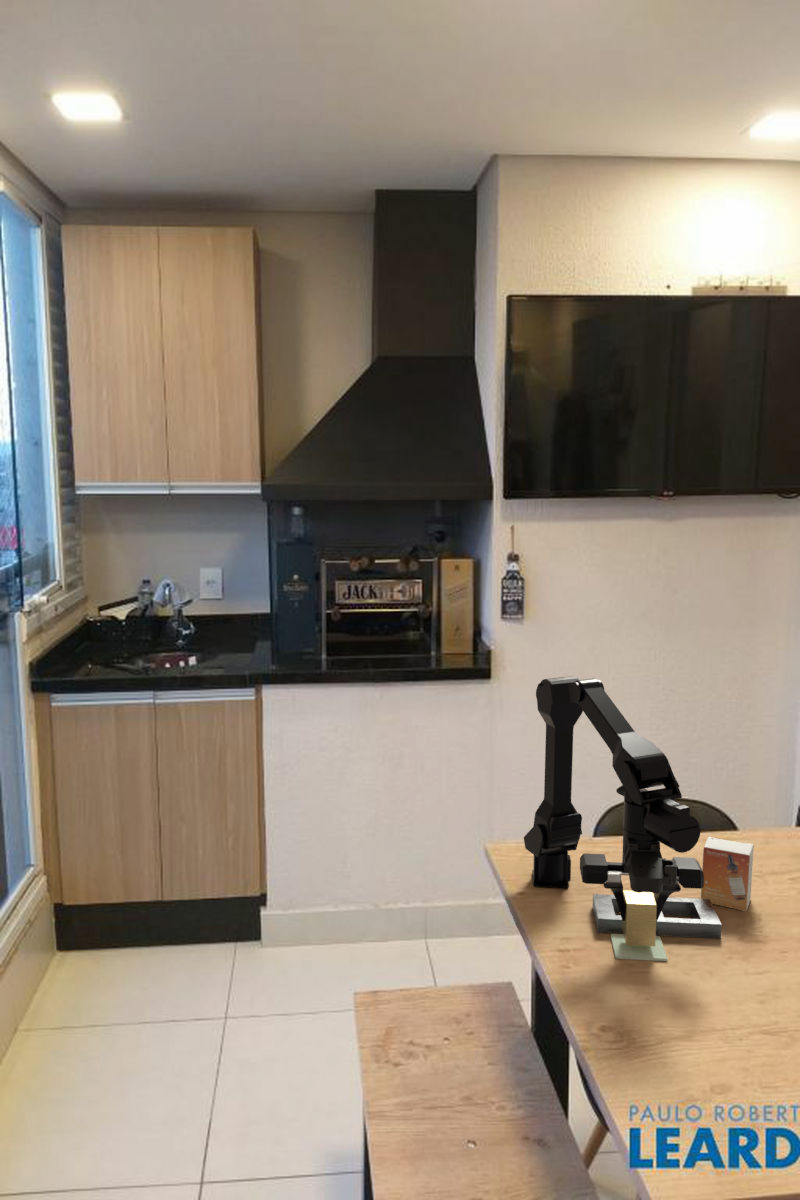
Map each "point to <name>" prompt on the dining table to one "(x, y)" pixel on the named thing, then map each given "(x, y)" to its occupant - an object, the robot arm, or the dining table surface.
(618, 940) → the mat
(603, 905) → the grey flat rectangular frame
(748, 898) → the small box
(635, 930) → the block
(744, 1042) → the dining table surface
